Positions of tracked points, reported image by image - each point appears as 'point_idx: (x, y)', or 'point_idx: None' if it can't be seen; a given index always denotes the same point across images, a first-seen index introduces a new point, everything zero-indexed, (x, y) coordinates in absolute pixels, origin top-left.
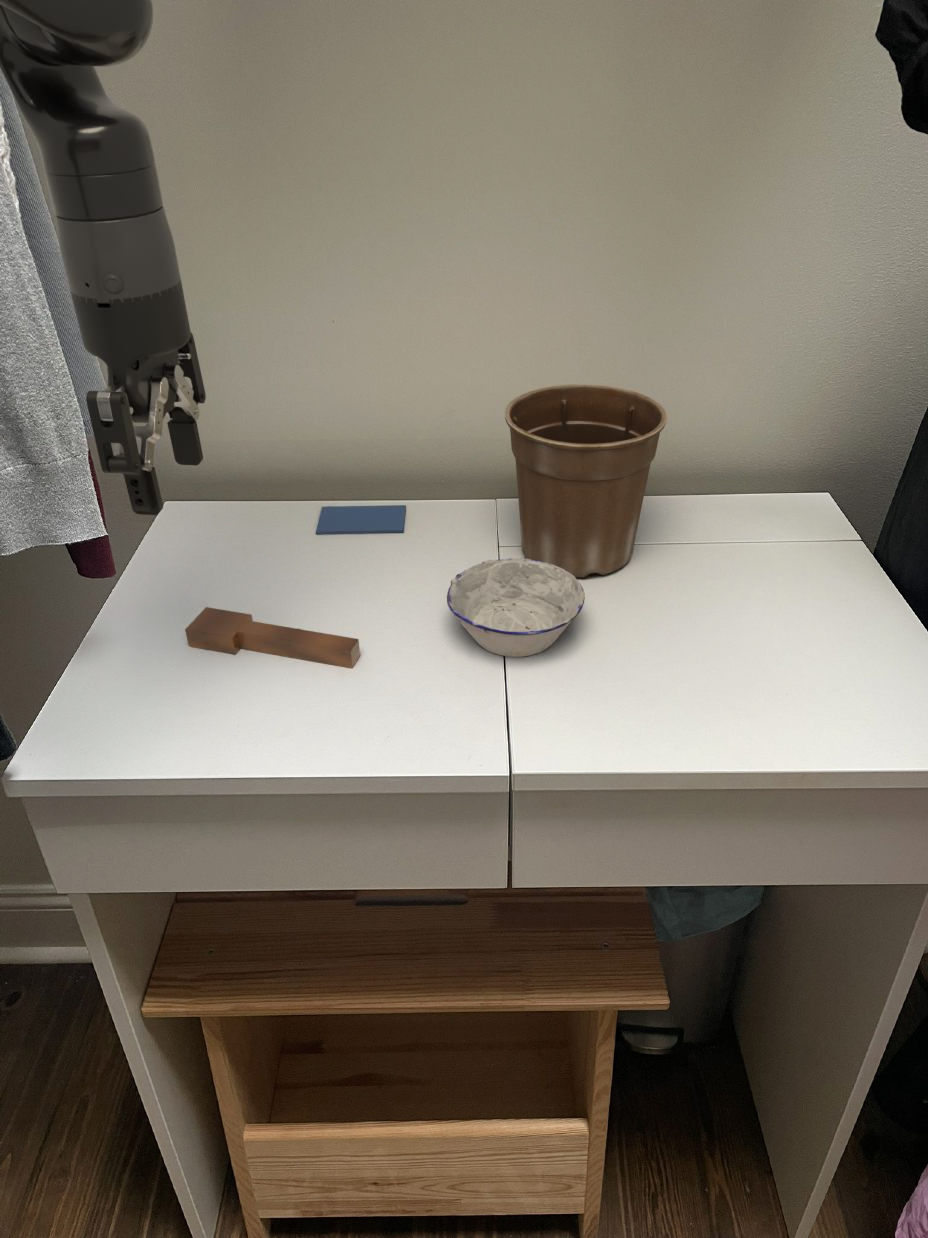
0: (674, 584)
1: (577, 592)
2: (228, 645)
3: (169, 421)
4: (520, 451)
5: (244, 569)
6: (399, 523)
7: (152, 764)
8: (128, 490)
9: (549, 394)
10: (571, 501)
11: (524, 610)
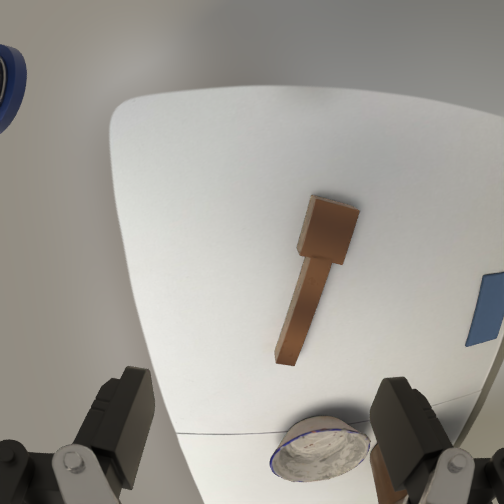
0: (354, 480)
1: (320, 477)
2: (299, 245)
3: (432, 452)
4: None
5: (443, 219)
6: (475, 341)
7: (131, 217)
8: (87, 415)
9: None
10: (384, 495)
11: (332, 441)
